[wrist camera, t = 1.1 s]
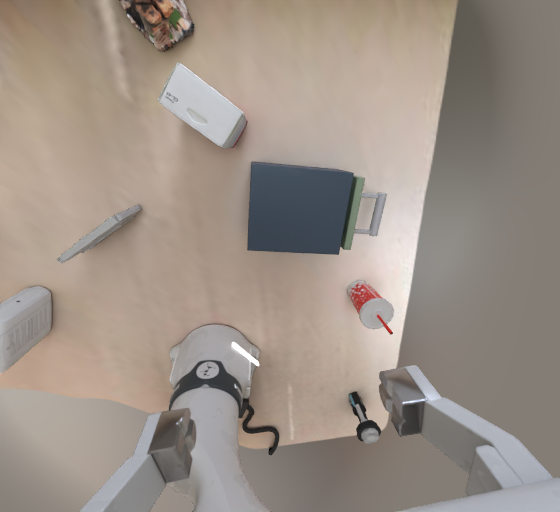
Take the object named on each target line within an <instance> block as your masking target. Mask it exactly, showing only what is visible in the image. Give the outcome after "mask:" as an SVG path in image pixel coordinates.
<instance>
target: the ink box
mask: <svg viewBox="0 0 560 512" xmlns="http://www.w3.org/2000/svg"><path fill="white" fill-rule="evenodd" d="M158 101H159V103H160V104H162V105H163V106H164V107H165V108H166V109H168V110H169V111H171V112H172V113H173V114H174V115H176V116H177V117H179V118H180V119H182V120H183V121H185V122H186V123H187V124H189V125H190V126H191V127H193V128H194V129H196V130H197V131H199V132H200V133H201V134H203V135H204V136H205V137H206V138H208V139H209V140H211V141H212V142H214V143H215V144H216V145H218V146H220V147H221V148H232V147H234V146H235V145H236V143H237V141H238V140H239V138H240V136H241V134H242V133H243V130H244V128H245V126H246V124H247V122H248V121H247V119H246V118H245V116H244V113H243V111H241V110H240V109H239V108H238V107H236V106H235V105H234V104H233V103H231V102H230V101H229V100H227V99H226V98H225V97H224V96H222V95H221V94H220V93H218V92H217V91H216V90H215V89H213V88H212V87H211V86H209V85H208V84H207V83H206V82H204V81H203V80H202V79H200V78H199V77H198V76H197V75H195V74H194V73H193V72H191V71H190V70H189V69H187V68H186V67H185V66H183V65H182V64H181V63H179V62H178V63H177V64H176V66H175V67H174V69H173V70H172V72H171V74H170V76H169V78H168V80H167V81H166V83H165V85H164V88H163V90H162V92H161V94H160V96H159V98H158Z"/></svg>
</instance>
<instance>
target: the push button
mask: <svg viewBox="0 0 560 512" xmlns="http://www.w3.org/2000/svg"><path fill="white" fill-rule="evenodd" d="M349 397H350V399H351V401H352V404H351V403H350V404H351V407H352V408H353V412H354V414H355V415H356V416H357V417H358V418H359V421H360V424H359V425H358V427H357V429H356V430H357V436H358V439H359V440H361V441H363V442H365V443H367V444H371V443H374V442H376V441H377V440H378V438H379V435H380V433H381V430H380V428H379V426H378V425H377V423H375V422H374V421H372V420H368V419H367V417H366V414H365V412H366V408H365V406H364V405H363V402H362V400H361V401H360V398H361V397H360V398H359V396H358V394H357V392H354V393H352V394H349ZM349 402H350V401H349Z"/></svg>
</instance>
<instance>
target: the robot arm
mask: <svg viewBox="0 0 560 512" xmlns="http://www.w3.org/2000/svg"><path fill="white" fill-rule="evenodd" d="M259 353H260V350H259V348H257V347H256V346H254V345H252V344H250V343H249V342H248V341H247V340H246V338H245V337H244V336H243V335H242V334H241V333H240V332H239V331H237V330H235V329H233V328H231V327H228V326H225V325H206V326H202V327H200V328H197V329H195V330H194V331H192V332H191V333H190V334H189V335H188V336H187V337H186V338H185V339H184V340H183V342H181V343H180V344H178V345H176V346H174V347H173V348H172V349H171V350H170V358H171V361H172V364H173V368H172V371H171V375H170V379H169V382H171V385H172V388H173V390H174V391H173V393H172V395H171V399H170V405H169V411H164V412H159V413H153V414H150V415H149V417H148V418H147V420H146V423H145V425H144V428H143V430H142V433H141V436H140V438H139V441H138V443H137V446H136V448H135V451H134V453H133V456H132V458H128V459H127V460H126V461H125V462H124V463H123V464H122V466H120V468H119V469H118V470H117V471H116V472H115V473H114V474H113V475H112V476H111V477H110V479H109V480H108V481H107V482H106V483H105V484H104V485H103V486H102V487H101V488H100V489H99V491H98V492H97V493H96V494H95V495H94V496H93V497H92V498H91V499H90V500H89V501H88V503H87V504H86V505H85V506H84V507H83V508H82V509H81V510H80V511H79V512H150V510H151V509H152V507H153V505H154V504H155V502H156V501H157V499H158V497H159V496H160V494H161V493H162V491H163V489H164V488H165V487H166V483H167V484H168V485H169V486H170V487H171V488H172V489H174V490H175V491H177V492H178V493H180V494H182V495H184V496H185V497H186V498H188V499H189V500H190V501H191V502H192V504H193V505H194V507H195V509H194V510H193V511H192V512H272V511H270V510H269V509H268V508H267V507H266V506H265V505H264V504H263V503H262V502H261V500H260V499H259V498H258V497H257V495H256V494H255V492H254V491H253V489H252V488H251V486H250V485H249V483H248V481H247V478H246V476H245V474H244V471H243V468H242V465H241V461H240V455H239V441H238V419H239V418H242V417H243V415H244V413H245V410H246V409H247V410H248V411H249V412H250V413H249V415H248V417H247V418H246V419H245V421H244V423H243V426H242V428H243V430H244V431H245V432H246V433H251V434H253V433H260V432H267V431H270V432H273V433H274V434H275V442H274V445H273V447H270V448H269V455H272V454H273V453H274V451H275V450H276V448H277V445H278V442H279V433H278V431H277V430H276V429H275V428H273V427H262V428H256V429H249V428H247V427H246V426H247V424H248V422H249V421H250V420H251V418H252V416H253V415H254V410H253V408H252V407H251V406H250V405H249V404H248V403H249V397H250V390H251V388H250V386H251V379H252V376H253V373H254V370H255V367H256V365H257V366H259V362H258V358H259ZM252 356H254V357H252ZM379 378H380V380H381V382H382V383H381V384H380V385H379V393H380V397H381V400H382V403H383V405H384V407H385V409H386V410H387V411H388V412H390V413H391V414H392V416H391V421H392V423H393V424H394V426H395V428H396V430H397V432H398V434H399V436H400V437H401V436H407V435H413V434H419V433H421V435H422V436H423V437H425V438H426V439H427V440H428V441H429V442H431V443H432V444H433V445H435V446H436V447H437V448H438V449H440V451H442V452H443V453H444V454H445V455H446V456H448V457H449V458H450V459H451V460H452V461H454V462H455V463H456V464H457V465H458V466H460V467H461V468H462V469H463V470H464V471H466V472H467V473H468V474H469V479H468V482H467V486H466V491H465V492H466V494H467V496H468V497H463V498H458V499H453V500H449V501H444V502H439V503H435V504H429V505H425V506H420V507H415V508H411V509H405V510H401V511H396V512H560V477H558V478H553V477H552V476H551V475H550V474H549V473H548V472H547V471H546V470H545V468H544V467H543V466H542V465H541V464H540V463H539V462H538V461H537V460H536V459H535V458H534V456H533V455H532V454H531V453H530V452H529V451H528V450H527V449H526V448H525V447H524V445H523V444H522V443H521V442H520V441H519V440H518V439H517V438H516V437H514V436H512V435H510V434H509V433H507V432H505V431H503V430H502V429H500V428H498V427H496V426H495V425H493V424H491V423H489V422H487V421H486V420H484V419H482V418H481V417H479V416H477V415H475V414H474V413H472V412H470V411H468V410H466V409H465V408H463V407H461V406H459V405H458V404H456V403H454V402H452V401H451V400H449V399H447V398H441V396H440V395H439V394H438V393H437V391H436V390H435V389H434V387H433V386H432V385H431V383H430V382H429V381H428V380H427V378H426V377H425V376H424V374H423V373H422V372H421V371H420V369H419V368H418V367H417V366H414V365H413V366H408V367H403V368H402V367H401V368H396V369H391V370H386V371H381V372H380V375H379Z"/></svg>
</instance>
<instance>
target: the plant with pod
mask: <svg viewBox="0 0 560 512" xmlns="http://www.w3.org/2000/svg"><path fill="white" fill-rule="evenodd" d="M119 1H121V2H120V3H122V5H123V8H125V11H127V12H126V14H127V17H128V18H130V21H131V24H133V25H134V26H136V27H138V29H139V31H143V34H144V37H145V38H148V39H151V42H152V43H155V44H154V46H156V47H157V49H158V50H163V51H165V50H164V48H165V49H167V50H168V46H170V47H172V45H171V42H173V43H174V44H175V41H174V40H176V41H178V39H179V38H180V39H181V41H182V38H185V35H186V34H187V35H188V36H189V34H192V35H193V31H194V29H193V28H194V24H193V22H192V19H191V17H190V16H189V13H188V9H187V8H186V4H185V2H184V0H119ZM122 5H121V6H122ZM187 35H186V36H187ZM170 41H171V42H170ZM163 47H164V48H163ZM172 48H173V47H172Z"/></svg>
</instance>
